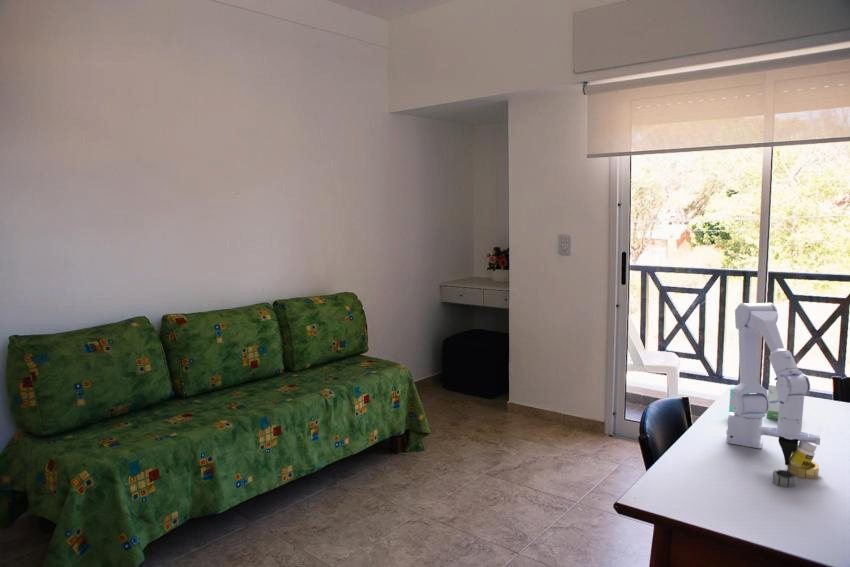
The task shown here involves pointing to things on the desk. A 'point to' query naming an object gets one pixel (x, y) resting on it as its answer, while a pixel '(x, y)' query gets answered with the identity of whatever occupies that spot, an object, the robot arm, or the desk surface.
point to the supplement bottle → (802, 455)
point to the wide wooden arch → (805, 471)
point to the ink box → (773, 400)
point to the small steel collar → (783, 478)
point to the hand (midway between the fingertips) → (786, 463)
